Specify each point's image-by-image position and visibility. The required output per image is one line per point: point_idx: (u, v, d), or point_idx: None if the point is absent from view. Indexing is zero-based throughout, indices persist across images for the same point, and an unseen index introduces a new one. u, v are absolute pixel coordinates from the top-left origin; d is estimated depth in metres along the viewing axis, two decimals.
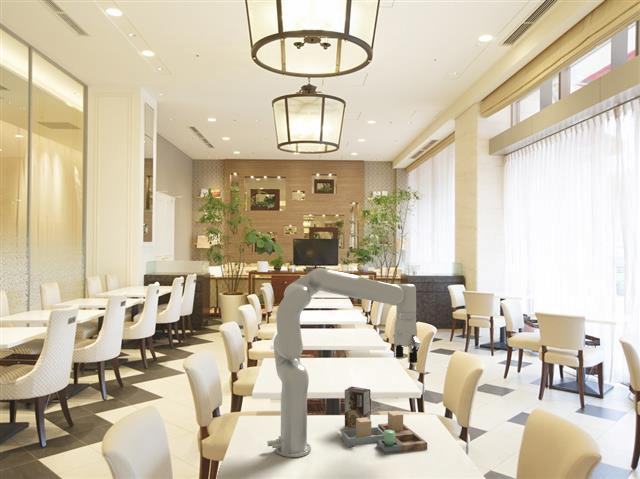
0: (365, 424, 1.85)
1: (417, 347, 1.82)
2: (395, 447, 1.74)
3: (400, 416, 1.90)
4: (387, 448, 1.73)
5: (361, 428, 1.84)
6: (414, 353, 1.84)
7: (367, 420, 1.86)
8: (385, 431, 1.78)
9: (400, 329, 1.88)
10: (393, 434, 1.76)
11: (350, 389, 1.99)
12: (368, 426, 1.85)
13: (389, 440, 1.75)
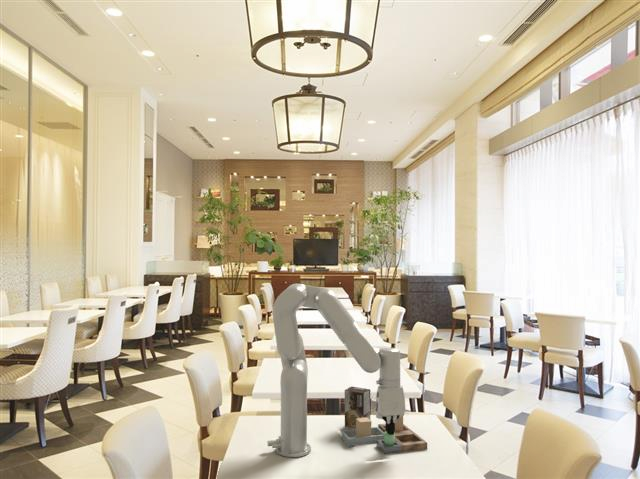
0: (365, 424, 1.85)
1: None
2: (395, 447, 1.74)
3: None
4: (387, 448, 1.73)
5: (361, 428, 1.84)
6: None
7: (367, 420, 1.86)
8: (385, 433, 1.77)
9: (394, 399, 1.75)
10: (393, 436, 1.76)
11: (350, 389, 1.99)
12: (368, 426, 1.85)
13: (389, 442, 1.75)
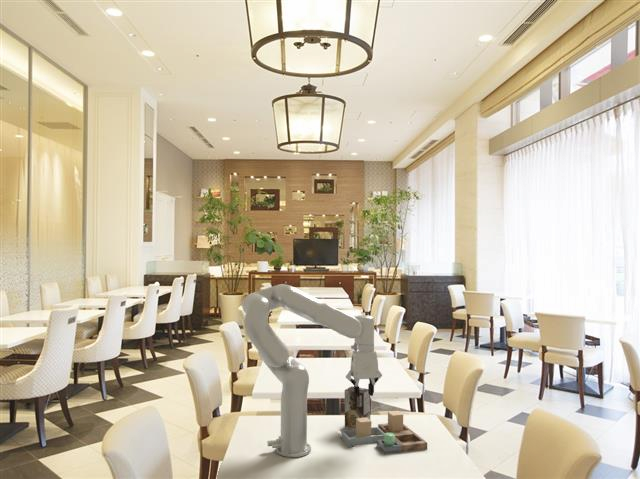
0: (365, 424, 1.85)
1: None
2: (395, 447, 1.74)
3: (400, 416, 1.90)
4: (387, 448, 1.73)
5: (361, 428, 1.84)
6: None
7: (367, 420, 1.86)
8: (385, 434, 1.77)
9: (368, 363, 1.85)
10: (393, 437, 1.76)
11: (350, 389, 1.99)
12: (368, 426, 1.85)
13: (389, 443, 1.75)
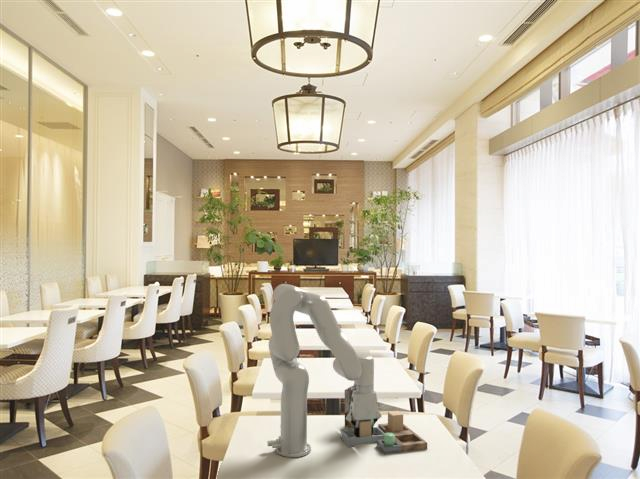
0: (365, 423, 1.85)
1: None
2: (395, 447, 1.74)
3: (400, 416, 1.90)
4: (387, 448, 1.73)
5: (361, 428, 1.84)
6: None
7: (367, 420, 1.86)
8: (385, 434, 1.77)
9: (368, 404, 1.84)
10: (393, 437, 1.76)
11: (350, 389, 1.99)
12: (368, 426, 1.85)
13: (389, 443, 1.75)
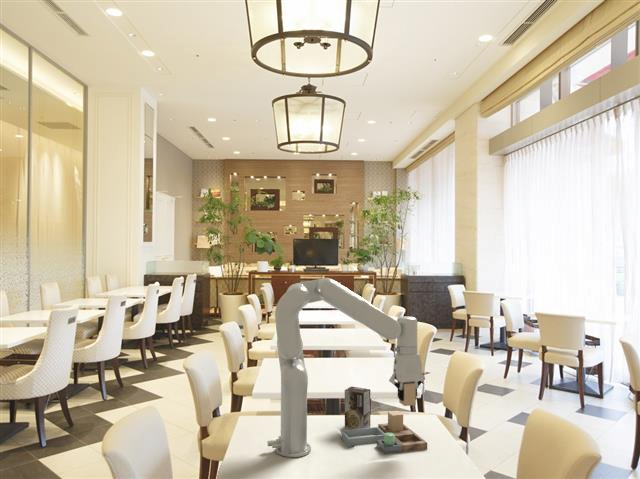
0: (409, 386, 1.80)
1: None
2: (395, 447, 1.74)
3: (400, 416, 1.90)
4: (387, 448, 1.73)
5: (405, 390, 1.79)
6: None
7: (411, 382, 1.81)
8: (385, 434, 1.77)
9: (412, 365, 1.79)
10: (393, 437, 1.76)
11: (350, 389, 1.99)
12: (412, 388, 1.80)
13: (389, 443, 1.75)
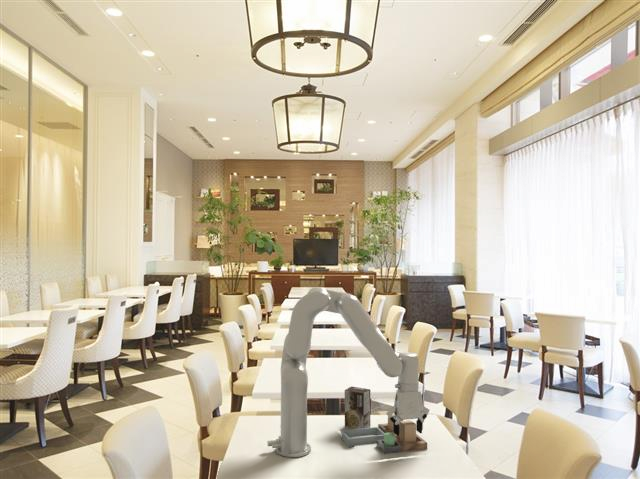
0: (409, 427, 1.79)
1: None
2: (395, 447, 1.74)
3: None
4: (387, 448, 1.73)
5: (405, 431, 1.79)
6: None
7: (411, 423, 1.81)
8: (385, 434, 1.77)
9: (413, 402, 1.79)
10: (393, 437, 1.76)
11: (350, 389, 1.99)
12: (413, 429, 1.80)
13: (389, 443, 1.75)
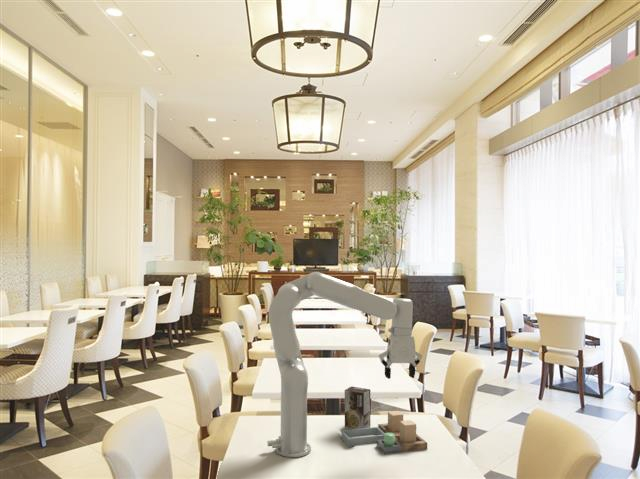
0: (409, 427, 1.79)
1: None
2: (395, 447, 1.74)
3: (400, 416, 1.90)
4: (387, 448, 1.73)
5: (405, 431, 1.79)
6: None
7: (411, 423, 1.81)
8: (385, 434, 1.77)
9: (405, 346, 1.80)
10: (393, 437, 1.76)
11: (350, 389, 1.99)
12: (413, 429, 1.80)
13: (389, 443, 1.75)
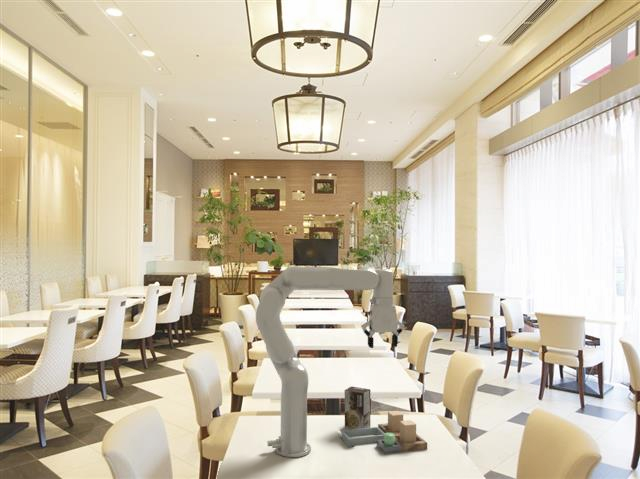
0: (409, 427, 1.79)
1: None
2: (395, 447, 1.74)
3: (400, 416, 1.90)
4: (387, 448, 1.73)
5: (405, 431, 1.79)
6: None
7: (411, 423, 1.81)
8: (385, 434, 1.77)
9: (387, 316, 1.83)
10: (393, 437, 1.76)
11: (350, 389, 1.99)
12: (413, 429, 1.80)
13: (389, 443, 1.75)
